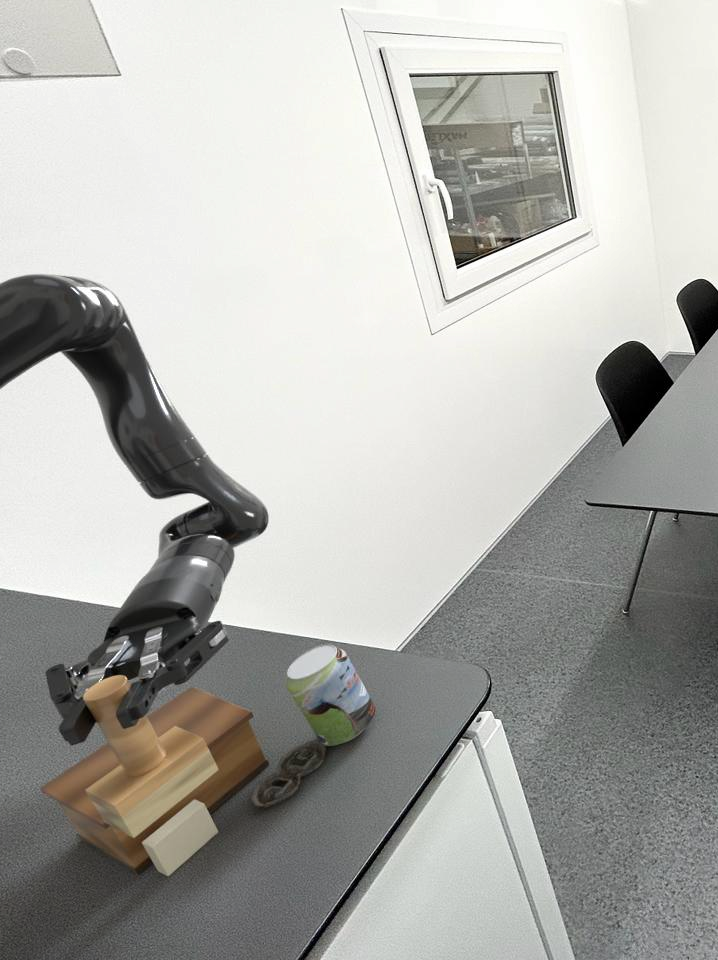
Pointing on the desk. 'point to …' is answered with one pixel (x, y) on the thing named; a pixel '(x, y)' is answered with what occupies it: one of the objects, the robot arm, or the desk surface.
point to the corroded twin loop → (289, 774)
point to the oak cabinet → (237, 766)
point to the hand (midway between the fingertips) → (99, 728)
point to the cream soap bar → (180, 837)
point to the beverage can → (330, 694)
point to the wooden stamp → (143, 763)
